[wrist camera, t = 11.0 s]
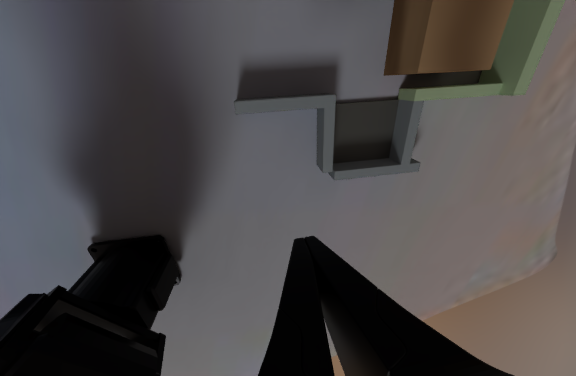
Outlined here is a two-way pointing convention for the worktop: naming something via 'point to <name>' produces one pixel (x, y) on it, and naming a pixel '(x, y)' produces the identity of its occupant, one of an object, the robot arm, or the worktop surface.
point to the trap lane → (413, 102)
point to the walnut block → (445, 35)
